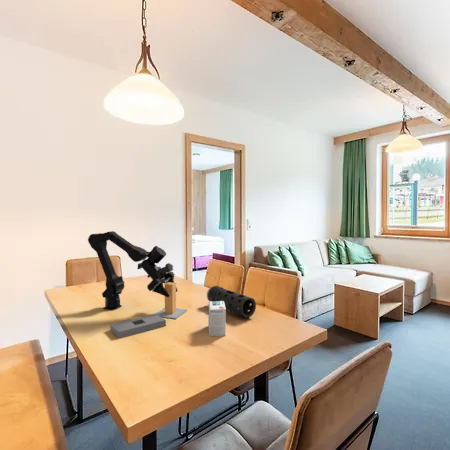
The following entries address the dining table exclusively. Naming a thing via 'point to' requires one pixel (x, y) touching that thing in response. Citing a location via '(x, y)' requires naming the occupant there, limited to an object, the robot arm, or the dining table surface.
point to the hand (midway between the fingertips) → (173, 293)
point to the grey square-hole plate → (137, 325)
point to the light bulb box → (217, 318)
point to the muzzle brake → (233, 301)
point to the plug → (170, 298)
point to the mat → (172, 316)
